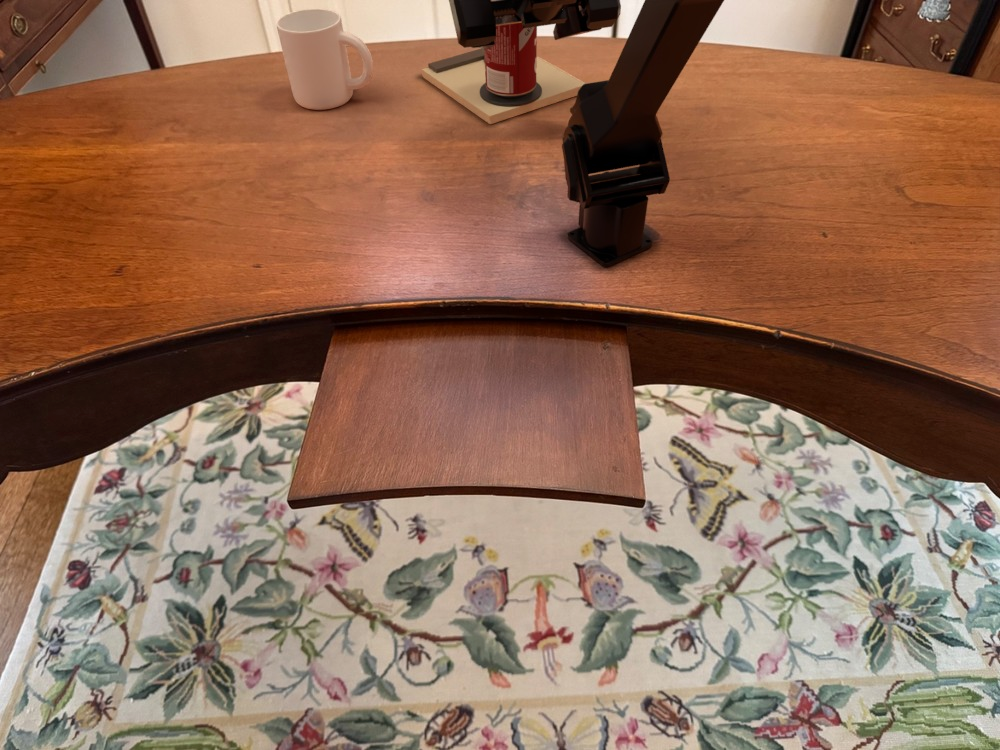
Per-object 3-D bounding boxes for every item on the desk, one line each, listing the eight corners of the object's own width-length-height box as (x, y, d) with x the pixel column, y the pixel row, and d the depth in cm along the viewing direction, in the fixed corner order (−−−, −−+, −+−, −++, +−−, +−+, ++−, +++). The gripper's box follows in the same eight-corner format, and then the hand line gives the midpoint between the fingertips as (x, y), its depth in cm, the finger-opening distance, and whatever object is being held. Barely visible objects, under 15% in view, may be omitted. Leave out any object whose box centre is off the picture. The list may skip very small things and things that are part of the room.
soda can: (508, 106, 93) (507, 7, 84) (475, 89, 96) (470, -7, 88) (546, 90, 96) (548, -7, 87) (513, 75, 99) (512, -20, 91)
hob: (587, 92, 98) (588, 79, 97) (490, 125, 92) (490, 112, 91) (513, 50, 109) (513, 38, 108) (422, 77, 103) (421, 64, 102)
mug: (387, 88, 101) (377, 11, 93) (368, 115, 95) (354, 35, 88) (308, 83, 103) (291, 6, 95) (284, 109, 97) (265, 30, 90)
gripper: (620, -121, 74) (576, -33, 89) (445, -103, 70) (431, -15, 86) (643, -14, 74) (596, 55, 89) (470, 9, 71) (451, 76, 86)
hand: (519, 41), depth 87 cm, fingers open, 9 cm apart
